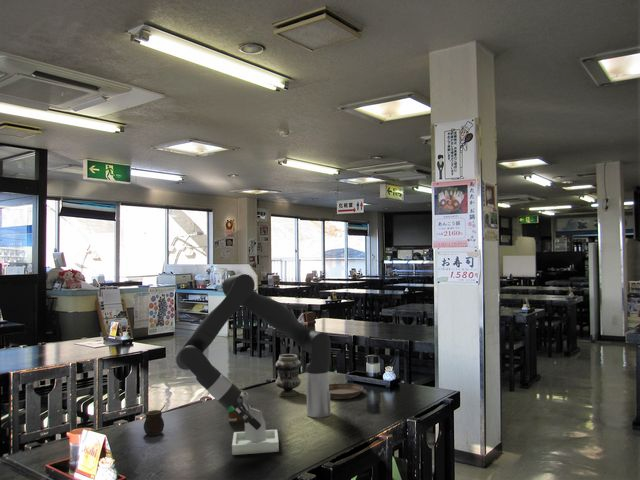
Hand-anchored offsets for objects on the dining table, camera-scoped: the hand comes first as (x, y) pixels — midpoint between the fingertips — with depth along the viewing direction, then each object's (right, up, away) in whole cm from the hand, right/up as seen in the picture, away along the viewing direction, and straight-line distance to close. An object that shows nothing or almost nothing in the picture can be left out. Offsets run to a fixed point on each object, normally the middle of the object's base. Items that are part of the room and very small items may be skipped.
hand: (259, 423), depth 171 cm
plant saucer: (+30, -10, +64) cm, 71 cm away
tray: (-1, -7, -1) cm, 7 cm away
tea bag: (-1, -5, 0) cm, 6 cm away
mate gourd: (-40, -9, +15) cm, 44 cm away
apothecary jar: (+6, -10, +67) cm, 68 cm away
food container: (-11, -9, +29) cm, 33 cm away
